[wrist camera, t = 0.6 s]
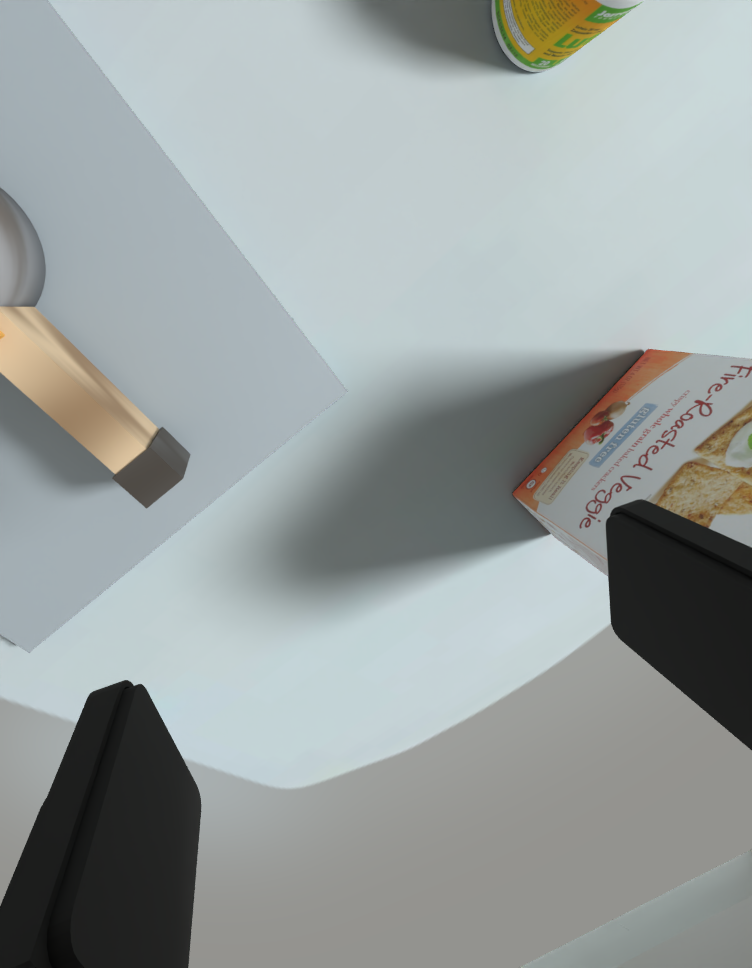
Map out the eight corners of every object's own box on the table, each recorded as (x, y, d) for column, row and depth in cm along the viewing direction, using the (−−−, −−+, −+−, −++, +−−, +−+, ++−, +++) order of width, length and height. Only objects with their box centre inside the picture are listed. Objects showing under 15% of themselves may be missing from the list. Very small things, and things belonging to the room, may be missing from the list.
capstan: (-194, 228, 20) (-342, 201, 15) (-62, 119, 20) (-164, 53, 15) (126, 505, 27) (101, 551, 22) (225, 424, 27) (222, 451, 22)
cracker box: (642, 343, 34) (1163, 386, 15) (680, 400, 36) (1167, 499, 17) (504, 491, 35) (826, 709, 16) (550, 537, 37) (876, 772, 18)
